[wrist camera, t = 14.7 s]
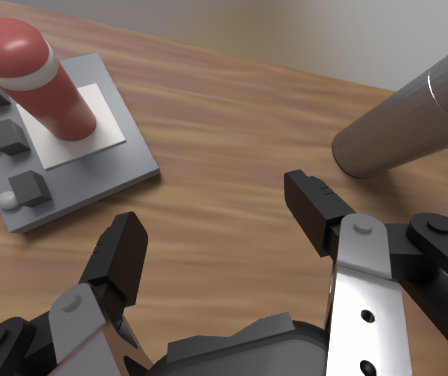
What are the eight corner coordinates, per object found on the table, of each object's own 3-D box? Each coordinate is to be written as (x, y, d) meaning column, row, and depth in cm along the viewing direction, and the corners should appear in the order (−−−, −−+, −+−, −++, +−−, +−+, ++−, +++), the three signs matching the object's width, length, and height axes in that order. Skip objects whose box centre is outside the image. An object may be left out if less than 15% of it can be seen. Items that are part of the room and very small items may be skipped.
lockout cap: (87, 99, 25) (31, 12, 16) (103, 132, 24) (55, 62, 15) (41, 112, 24) (-51, 24, 14) (58, 148, 23) (-28, 80, 13)
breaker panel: (102, 65, 29) (92, 40, 26) (160, 173, 27) (157, 162, 23) (-32, 96, 24) (-68, 71, 21) (23, 233, 22) (-8, 231, 18)
